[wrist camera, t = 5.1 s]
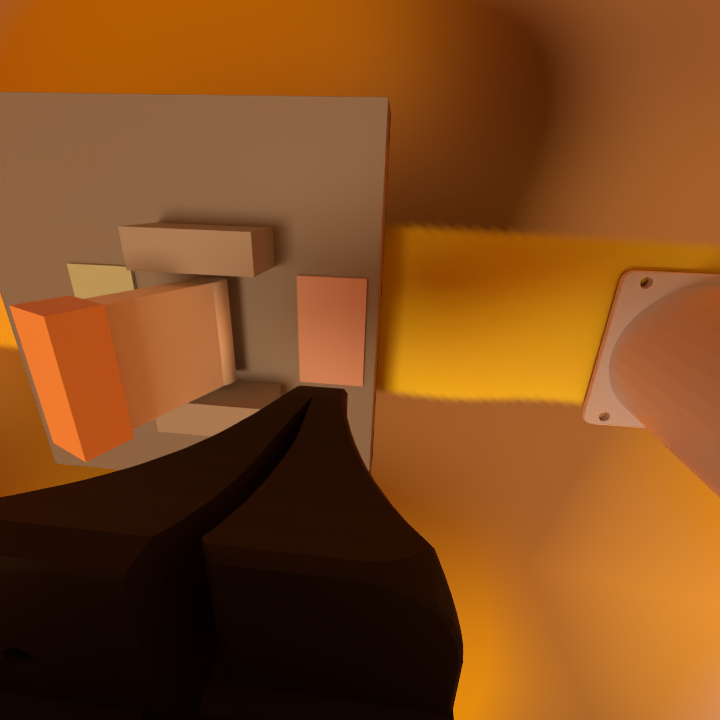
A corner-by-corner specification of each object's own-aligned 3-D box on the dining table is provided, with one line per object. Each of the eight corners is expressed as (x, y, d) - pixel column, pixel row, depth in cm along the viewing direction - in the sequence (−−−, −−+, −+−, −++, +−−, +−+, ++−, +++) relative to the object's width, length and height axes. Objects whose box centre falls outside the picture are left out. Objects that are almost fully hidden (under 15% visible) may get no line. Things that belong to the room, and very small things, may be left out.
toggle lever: (239, 277, 16) (43, 316, 11) (248, 381, 18) (85, 462, 12) (205, 272, 17) (9, 305, 11) (217, 371, 19) (53, 442, 13)
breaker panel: (391, 113, 17) (385, 76, 12) (372, 459, 24) (363, 530, 19) (5, 107, 18) (-148, 72, 13) (94, 434, 25) (16, 493, 20)
